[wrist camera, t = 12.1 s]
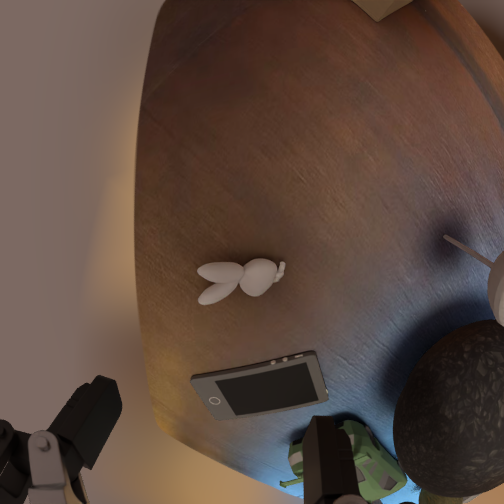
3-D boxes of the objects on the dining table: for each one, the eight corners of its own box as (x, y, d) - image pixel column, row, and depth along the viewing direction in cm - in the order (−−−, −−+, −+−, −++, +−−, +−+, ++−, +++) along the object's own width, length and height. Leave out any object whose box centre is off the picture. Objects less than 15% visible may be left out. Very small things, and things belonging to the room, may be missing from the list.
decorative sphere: (389, 427, 33) (417, 537, 14) (356, 339, 28) (409, 511, 9) (496, 365, 29) (554, 451, 10) (497, 258, 24) (612, 347, 5)
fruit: (417, 491, 44) (428, 533, 30) (409, 483, 41) (421, 531, 27) (456, 471, 41) (470, 512, 27) (453, 461, 38) (469, 507, 24)
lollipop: (451, 194, 22) (565, 238, 8) (473, 237, 24) (571, 299, 9) (410, 235, 24) (511, 312, 10) (436, 276, 25) (521, 361, 11)
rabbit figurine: (280, 301, 27) (198, 319, 25) (266, 268, 29) (188, 282, 27) (301, 267, 23) (202, 286, 20) (282, 230, 25) (190, 242, 22)
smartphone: (315, 348, 29) (316, 353, 28) (329, 396, 31) (330, 400, 30) (189, 375, 31) (187, 379, 31) (217, 417, 34) (216, 421, 33)
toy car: (353, 401, 31) (367, 463, 22) (407, 465, 38) (417, 503, 28) (277, 433, 34) (274, 492, 25) (355, 487, 41) (360, 525, 31)
